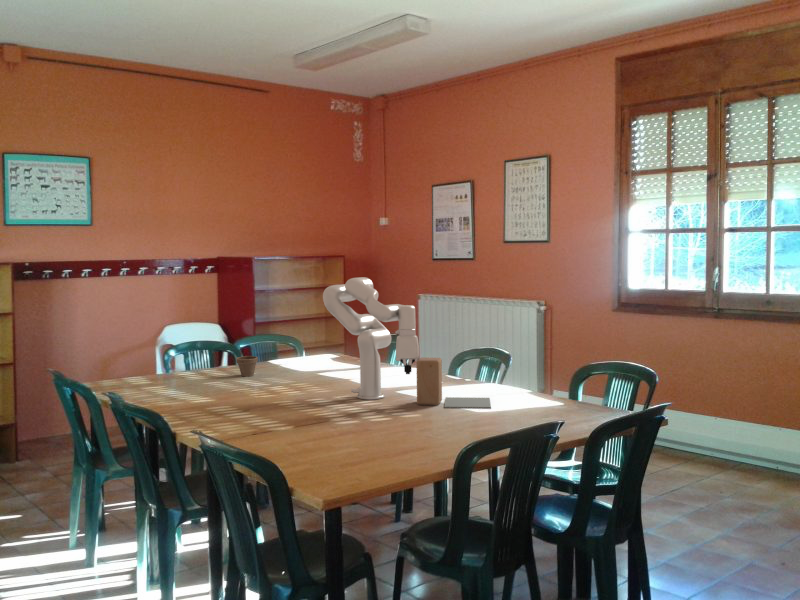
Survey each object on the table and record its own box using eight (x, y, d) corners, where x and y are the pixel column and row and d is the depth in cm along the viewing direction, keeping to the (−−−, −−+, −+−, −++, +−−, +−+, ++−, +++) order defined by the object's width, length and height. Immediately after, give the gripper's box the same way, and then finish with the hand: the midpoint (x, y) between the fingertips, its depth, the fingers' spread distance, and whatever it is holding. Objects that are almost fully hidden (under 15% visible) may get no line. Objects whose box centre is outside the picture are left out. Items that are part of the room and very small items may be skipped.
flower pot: (249, 378, 413) (249, 359, 412) (232, 376, 418) (232, 358, 417) (262, 374, 423) (261, 356, 423) (245, 373, 428) (245, 355, 428)
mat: (444, 408, 334) (444, 406, 334) (445, 398, 353) (445, 397, 353) (490, 408, 332) (490, 407, 332) (489, 399, 352) (489, 397, 352)
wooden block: (438, 405, 338) (438, 360, 337) (416, 405, 340) (416, 360, 339) (442, 401, 348) (442, 357, 346) (420, 400, 350) (420, 356, 349)
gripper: (389, 334, 340) (390, 375, 341) (423, 333, 338) (424, 375, 339) (391, 332, 347) (392, 372, 348) (424, 332, 346) (425, 372, 347)
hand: (407, 373), depth 344 cm, fingers closed
